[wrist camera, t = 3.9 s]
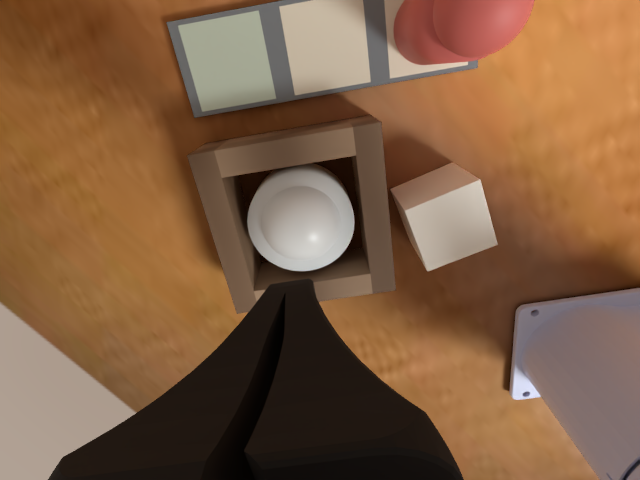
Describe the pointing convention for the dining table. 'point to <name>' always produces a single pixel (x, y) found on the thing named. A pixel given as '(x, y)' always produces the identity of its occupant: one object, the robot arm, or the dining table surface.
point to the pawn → (457, 28)
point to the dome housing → (284, 151)
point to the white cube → (445, 215)
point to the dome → (301, 217)
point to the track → (291, 53)
